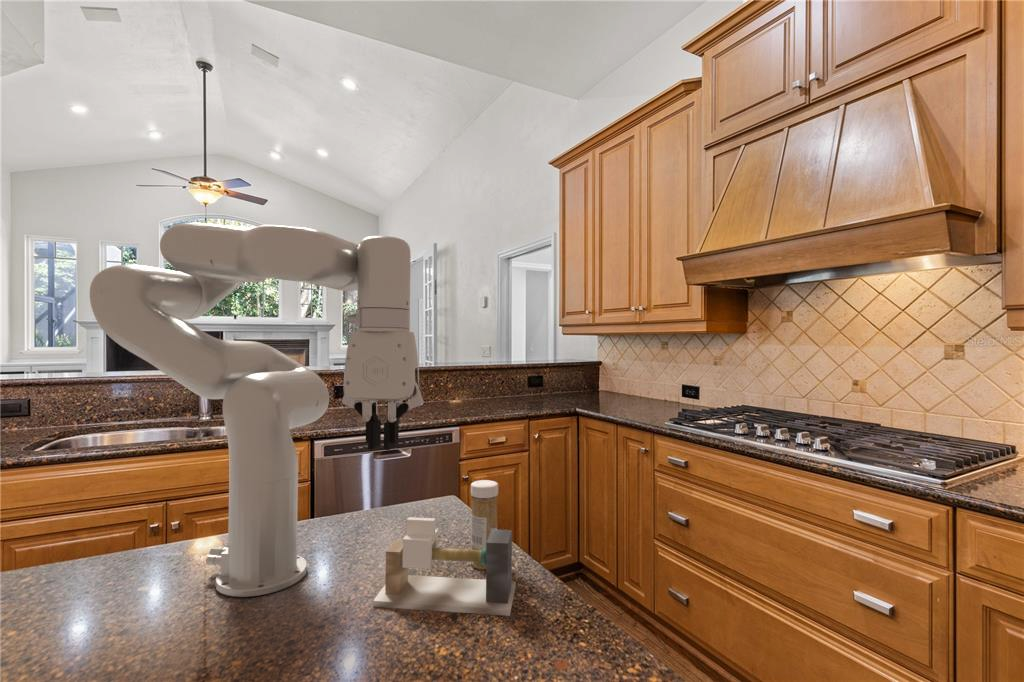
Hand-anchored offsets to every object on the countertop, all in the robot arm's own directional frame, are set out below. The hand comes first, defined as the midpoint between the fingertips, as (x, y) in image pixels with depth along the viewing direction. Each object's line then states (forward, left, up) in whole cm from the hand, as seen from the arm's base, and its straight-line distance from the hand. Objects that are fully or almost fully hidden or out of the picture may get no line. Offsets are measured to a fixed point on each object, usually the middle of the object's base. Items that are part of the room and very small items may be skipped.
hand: (382, 447), depth 72 cm
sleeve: (+6, 0, -16) cm, 17 cm away
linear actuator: (+10, 0, -21) cm, 23 cm away
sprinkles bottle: (+14, +11, -21) cm, 28 cm away
